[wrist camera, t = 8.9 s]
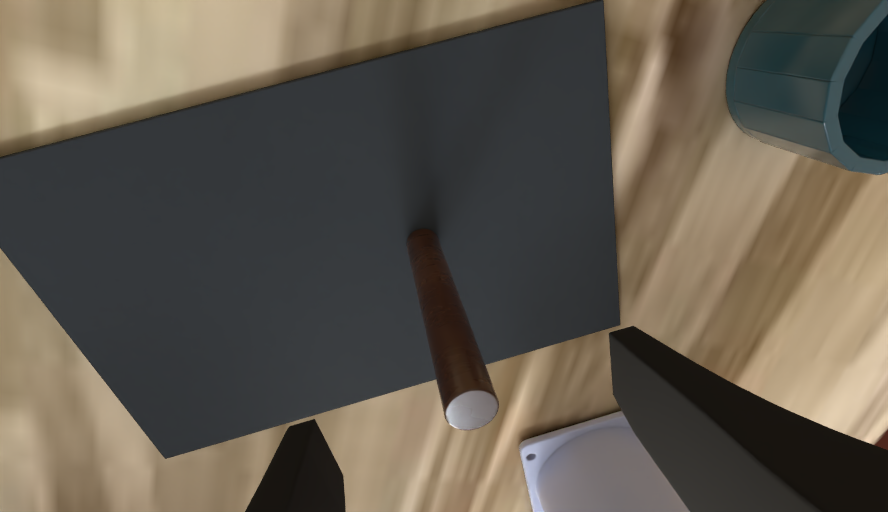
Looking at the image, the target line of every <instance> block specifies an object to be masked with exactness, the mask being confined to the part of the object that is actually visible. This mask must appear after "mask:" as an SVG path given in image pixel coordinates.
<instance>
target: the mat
mask: <svg viewBox="0 0 888 512" xmlns="http://www.w3.org/2000/svg"><path fill="white" fill-rule="evenodd" d="M418 229H429V230H431V231H433V232H434V233H435V234H436V235H437V237H438V239H439V242H440V245H441V247H442V250H443V253H444V255H445V258H446V261H447V263H448V266H449V269H450V272H451V274H452V277H453V280H454V282H455V285H456V288H457V290H458V293H459V296H460V298H461V301H462V304H463V307H464V309H465V312H466V315H467V317H468V320H469V323H470V325H471V328H472V331H473V333H474V336H475V339H476V342H477V344H478V347H479V350H480V352H481V355H482V358H483V360H484V363H485V365H486V364H489V363H493V362H496V361H500V360H503V359H506V358H510V357H513V356H516V355H520V354H523V353H527V352H530V351H533V350H537V349H540V348H544V347H547V346H550V345H554V344H557V343H561V342H564V341H567V340H571V339H574V338H578V337H581V336H584V335H588V334H591V333H595V332H598V331H601V330H605V329H608V328H612V327H615V326H618V325H620V311H619V292H618V273H617V253H616V234H615V214H614V195H613V176H612V156H611V137H610V118H609V98H608V79H607V59H606V40H605V21H604V1H603V0H595V1H591V2H588V3H584V4H580V5H576V6H572V7H569V8H565V9H561V10H557V11H553V12H550V13H546V14H542V15H538V16H534V17H531V18H527V19H523V20H519V21H515V22H512V23H508V24H504V25H500V26H496V27H493V28H489V29H485V30H481V31H477V32H474V33H470V34H466V35H462V36H458V37H455V38H451V39H447V40H443V41H439V42H436V43H432V44H428V45H424V46H420V47H417V48H413V49H409V50H405V51H401V52H398V53H394V54H390V55H386V56H382V57H379V58H375V59H371V60H367V61H363V62H360V63H356V64H352V65H348V66H344V67H341V68H337V69H333V70H329V71H325V72H322V73H318V74H314V75H310V76H306V77H303V78H299V79H295V80H291V81H287V82H284V83H280V84H276V85H272V86H268V87H265V88H261V89H257V90H253V91H249V92H246V93H242V94H238V95H234V96H230V97H227V98H223V99H219V100H215V101H211V102H208V103H204V104H200V105H196V106H192V107H189V108H185V109H181V110H177V111H173V112H170V113H166V114H162V115H158V116H154V117H151V118H147V119H143V120H139V121H135V122H132V123H128V124H124V125H120V126H116V127H113V128H109V129H105V130H101V131H97V132H94V133H90V134H86V135H82V136H78V137H75V138H71V139H67V140H63V141H59V142H56V143H52V144H48V145H44V146H41V147H37V148H33V149H29V150H25V151H22V152H18V153H14V154H10V155H6V156H3V157H0V248H1V249H2V251H3V252H4V253H5V254H6V256H7V257H8V258H9V260H10V261H11V262H12V263H13V265H14V266H15V267H16V269H17V270H18V271H19V272H20V274H21V275H22V276H23V278H24V279H25V280H26V281H27V283H28V284H29V285H30V286H31V288H32V289H33V290H34V292H35V293H36V294H37V295H38V297H39V298H40V299H41V301H42V302H43V303H44V304H45V306H46V307H47V308H48V310H49V311H50V312H51V313H52V315H53V316H54V317H55V318H56V320H57V321H58V322H59V324H60V325H61V326H62V327H63V329H64V330H65V331H66V333H67V334H68V335H69V336H70V338H71V339H72V340H73V342H74V343H75V344H76V345H77V347H78V348H79V349H80V350H81V352H82V353H83V354H84V356H85V357H86V358H87V359H88V361H89V362H90V363H91V365H92V366H93V367H94V368H95V370H96V371H97V372H98V373H99V375H100V376H101V377H102V379H103V380H104V381H105V382H106V384H107V385H108V386H109V388H110V389H111V390H112V391H113V393H114V394H115V395H116V397H117V398H118V399H119V400H120V402H121V403H122V404H123V405H124V407H125V408H126V409H127V411H128V412H129V413H130V414H131V416H132V417H133V418H134V420H135V421H136V422H137V423H138V425H139V426H140V427H141V429H142V430H143V431H144V432H145V434H146V435H147V436H148V437H149V439H150V440H151V441H152V443H153V444H154V445H155V446H156V448H157V449H158V450H159V452H160V453H161V454H162V455H163V457H164V458H165V459H167V458H170V457H174V456H177V455H180V454H184V453H187V452H190V451H194V450H197V449H201V448H204V447H207V446H211V445H214V444H218V443H221V442H224V441H228V440H231V439H235V438H238V437H241V436H245V435H248V434H252V433H255V432H258V431H262V430H265V429H269V428H272V427H275V426H279V425H282V424H286V423H289V422H292V421H296V420H299V419H303V418H306V417H309V416H313V415H316V414H320V413H323V412H326V411H330V410H333V409H337V408H340V407H343V406H347V405H350V404H353V403H357V402H360V401H364V400H367V399H370V398H374V397H377V396H381V395H384V394H387V393H391V392H394V391H398V390H401V389H404V388H408V387H411V386H415V385H418V384H421V383H425V382H428V381H432V380H435V379H436V375H435V371H434V367H433V362H432V358H431V353H430V349H429V344H428V340H427V335H426V331H425V327H424V322H423V318H422V313H421V309H420V304H419V300H418V295H417V291H416V286H415V282H414V278H413V273H412V269H411V264H410V260H409V255H408V251H407V246H406V242H407V239H408V237H409V236H410V234H411V233H413V232H414V231H416V230H418Z"/></svg>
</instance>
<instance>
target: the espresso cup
mask: <svg viewBox="0 0 888 512" xmlns="http://www.w3.org/2000/svg"><path fill="white" fill-rule="evenodd" d="M726 98H727V104H728V108H729V111H730V114H731V116H732V118H733V120H734V121H735V123H736V124H737V126H738V127H739V128H740V129H741V130H742V131H743V132H744V133H746V134H747V135H748V136H750V137H752V138H754V139H757V140H759V141H760V142H762V143H765V144H768V145H771V146H774V147H777V148H780V149H784V150H787V151H790V152H793V153H796V154H799V155H802V156H805V157H808V158H811V159H814V160H817V161H820V162H823V163H827V164H830V165H833V166H836V167H839V168H842V169H845V170H848V171H852V172H859V173H866V174H872V175H882V174H885V173H888V0H766V1H765V2H764V3H763V4H762V5H761V6H760V7H759V9H758V10H757V11H756V12H755V13H754V15H753V16H752V17H751V19H750V20H749V22H748V23H747V25H746V26H745V28H744V30H743V31H742V33H741V35H740V37H739V39H738V41H737V43H736V45H735V47H734V50H733V53H732V56H731V59H730V62H729V67H728V71H727V78H726Z"/></svg>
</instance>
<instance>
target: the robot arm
mask: <svg viewBox="0 0 888 512" xmlns="http://www.w3.org/2000/svg"><path fill="white" fill-rule="evenodd" d="M609 342H610V356H611V371H612V385H613V395H614V397H615V399H616V401H617V403H618V404H619V406H620V408H621V410H622V411H619V412H615V413H612V414H609V415H605V416H602V417H599V418H596V419H592V420H589V421H586V422H582V423H579V424H576V425H572V426H569V427H566V428H562V429H559V430H556V431H553V432H549V433H546V434H543V435H539V436H536V437H533V438H529V439H526V440H524V441H523V442H521V443H520V445H519V451H520V456H521V460H522V465H523V469H524V474H525V478H526V483H527V488H528V492H529V497H530V501H531V506H532V510H533V512H888V450H886V449H883V448H880V447H878V446H875V445H872V444H869V443H867V442H864V441H861V440H858V439H856V438H853V437H850V436H848V435H845V434H843V433H840V432H838V431H835V430H833V429H830V428H828V427H825V426H823V425H821V424H818V423H816V422H814V421H811V420H809V419H807V418H804V417H802V416H800V415H797V414H795V413H793V412H790V411H788V410H786V409H784V408H782V407H779V406H777V405H775V404H773V403H771V402H769V401H767V400H765V399H763V398H761V397H759V396H757V395H755V394H753V393H751V392H749V391H747V390H745V389H743V388H741V387H739V386H737V385H735V384H733V383H731V382H729V381H727V380H726V379H724V378H722V377H720V376H718V375H716V374H715V373H713V372H711V371H709V370H707V369H706V368H704V367H702V366H700V365H699V364H697V363H695V362H693V361H692V360H690V359H688V358H686V357H685V356H683V355H681V354H680V353H678V352H676V351H675V350H673V349H671V348H670V347H668V346H666V345H665V344H663V343H661V342H660V341H658V340H656V339H655V338H653V337H651V336H650V335H648V334H646V333H644V332H643V331H641V330H639V329H638V328H636V327H634V326H631V327H627V328H624V329H621V330H617V331H614V332H610V333H609ZM245 512H346V511H345V494H344V480H343V474H342V472H341V470H340V468H339V466H338V464H337V462H336V460H335V458H334V456H333V454H332V452H331V450H330V448H329V446H328V444H327V442H326V440H325V438H324V436H323V434H322V433H321V431H320V429H319V427H318V425H317V423H316V421H315V419H313V420H310V421H306V422H303V423H300V424H296V425H293V426H289V428H288V429H287V431H286V433H285V435H284V437H283V439H282V441H281V443H280V445H279V447H278V449H277V451H276V453H275V455H274V457H273V459H272V461H271V463H270V465H269V467H268V469H267V471H266V473H265V475H264V477H263V479H262V481H261V483H260V485H259V486H258V488H257V490H256V492H255V494H254V496H253V498H252V500H251V501H250V503H249V505H248V507H247V509H246V511H245Z"/></svg>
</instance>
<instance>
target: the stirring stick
mask: <svg viewBox="0 0 888 512" xmlns="http://www.w3.org/2000/svg"><path fill="white" fill-rule="evenodd" d="M406 246H407V251H408V255H409V260H410V264H411V269H412V273H413V278H414V282H415V286H416V291H417V295H418V300H419V304H420V309H421V313H422V318H423V322H424V327H425V331H426V335H427V340H428V344H429V349H430V353H431V358H432V362H433V367H434V371H435V375H436V380H437V384H438V389H439V393H440V398H441V402H442V407H443V411H444V415H445V419H446V420H447V422H448V423H449V424H450V425H451V426H453V427H454V428H457V429H460V430H473V429H477V428H480V427H482V426H484V425H486V424H488V423H489V422H490V421H491V420H492V419H493V418H494V417H495V416H496V414H497V412H498V408H499V401H498V398H497V395H496V393H495V390H494V387H493V385H492V382H491V379H490V377H489V374H488V371H487V368H486V366H485V363H484V360H483V358H482V355H481V352H480V350H479V347H478V344H477V342H476V339H475V336H474V333H473V331H472V328H471V325H470V323H469V320H468V317H467V315H466V312H465V309H464V307H463V304H462V301H461V298H460V296H459V293H458V290H457V288H456V285H455V282H454V280H453V277H452V274H451V272H450V269H449V266H448V263H447V261H446V258H445V255H444V253H443V250H442V247H441V245H440V242H439V239H438V237H437V235H436V234H435V233H434V232H433V231H431V230H429V229H418V230H416V231H414V232H413V233H411V234H410V236H409V237H408V239H407V242H406Z"/></svg>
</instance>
